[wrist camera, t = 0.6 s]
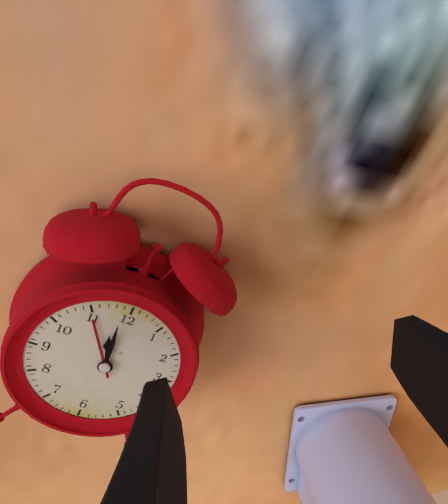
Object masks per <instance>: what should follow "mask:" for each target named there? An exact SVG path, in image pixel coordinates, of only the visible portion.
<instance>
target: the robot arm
mask: <svg viewBox="0 0 448 504" xmlns="http://www.w3.org/2000/svg"><path fill="white" fill-rule="evenodd" d="M391 369H392V370H393V372H394V374H395V376H396V377H397V379H398V381H399V382H400V384H401V386H402V387H403V389H404V390H405V392H406V394H407V395H408V397H409V398H410V399H411V401H412V402H413V403H414V405H415V406H416V407H417V409H418V410H419V411H420V412H421V414H422V415H423V416H424V418H425V419H426V420H427V422H428V423H429V424H430V425H431V427H432V428H433V429H434V430H435V432H436V433H437V434H438V435H439V437H440V438H441V439H442V441H443V442H444V443H445V444H446V446H447V447H448V333H446V332H444V331H442V330H441V329H439V328H437V327H435V326H433V325H431V324H429V323H427V322H425V321H424V320H422V319H420V318H418V317H416V316H414V315H411V316H407V317H403V318H399V319H395V320H394V332H393V343H392V355H391ZM396 403H397V399H396V398H395V396H394V395H383V396H374V397H366V398H358V399H350V400H341V401H333V402H325V403H317V404H308V405H300V406H298V407H296V408H295V409H294V413H293V421H292V428H291V435H290V442H289V449H288V457H287V464H286V471H285V478H284V489H285V491H287V492H292V491H297V492H298V495H299V498H300V501H301V504H437V503H436V502H435V500H434V499H433V497H432V496H431V494H430V493H429V491H428V490H427V488H426V487H425V485H424V483H423V482H422V480H421V479H420V477H419V476H418V474H417V473H416V471H415V470H414V468H413V467H412V465H411V464H410V462H409V460H408V459H407V457H406V456H405V454H404V453H403V451H402V450H401V448H400V447H399V445H398V444H397V442H396V441H395V439H394V437H393V436H392V434H391V433H390V431H389V426H390V423H391V420H392V417H393V413H394V410H395V407H396ZM100 504H187V477H186V454H185V446H184V438H183V430H182V422H181V419H180V416H179V413H178V410H177V407H176V404H175V401H174V398H173V395H172V392H171V389H170V386H169V383H168V379H167V377H165V378H161V379H157V380H153V381H149V382H146V383H145V385H144V386H143V390H142V394H141V398H140V401H139V405H138V408H137V411H136V415H135V418H134V421H133V424H132V427H131V430H130V432H129V435H128V438H127V440H126V443H125V446H124V449H123V451H122V454H121V457H120V459H119V462H118V464H117V466H116V469H115V471H114V473H113V476H112V478H111V481H110V483H109V485H108V488H107V490H106V492H105V494H104V497H103V499H102V501H101V503H100Z"/></svg>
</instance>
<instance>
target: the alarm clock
mask: <svg viewBox="0 0 448 504" xmlns="http://www.w3.org/2000/svg"><path fill="white" fill-rule="evenodd" d="M145 184H156V185H162V186H166V187H170V188H173V189H175V190H178V191H180V192H183V193H185V194H187V195H189V196H191V197H193V198H194V199H196V200H198V201H199V202H201V203H202V204H203V205H205V206H206V207H207V208H208V209H209V210H210V211H211V213H212V214H213V216H214V217H215V219H216V222H217V229H218V234H217V240H216V244H215V247H214V251H213V254H212V255H211V254H210V253H209V252H208V251H206V250H205V249H204V248H202V247H201V246H198V245H196V244H194V243H182V244H180V245H179V246H177V247H175V248H174V249H173V250H172V251H171V253H170V254H169V258H168V257H166V256H165V255H163V254H161V253H159V252H160V250H161V248H162V246H161V245H159V244H156V243H154V242H153V243H152V245H151V248H152V249H150V248H147V247H145V246H141V245H140V242H141V238H140V231H139V228H138V226H137V225H136V223H135V221H133V220H132V219H131V218H129V217H128V216H126V215H124V214H121V213H119V212H116V211H114V210H115V208H116V207H117V205H118V204H119V202H120V201H121V199H122V198H123V197H124V196H125V195H126V193H127V192H129V191H130V190H131V189H133V188H134V187H137V186H140V185H145ZM222 234H223V226H222V221H221V218H220V216H219V213H218V212H217V210H216V209H215V208H214V207H213V206H212V205H211V203H209V202H208V201H207V200H206V199H204V198H203V197H202V196H200V195H198V194H197V193H195V192H193V191H191V190H189V189H188V188H186V187H184V186H181V185H178V184H175V183H172V182H169V181H166V180H161V179H155V178H147V179H139V180H136V181H133V182H131V183H129V184H128V185H127V186H125V187H124V188H123V189H122V190H121V191H120V192H119V194H118V195H117V196H116V198H115V199H114V201H113V202H112V204H111V206H110V207H109V209H108V210H106V209H97V203H95V202H91V203H90V208H86V209H75V210H70V211H66V212H63V213H60V214H58V215H57V216H55V217H53V218H52V219H51V220H50V221H49V222H48V224H47V226H46V227H45V230H44V235H43V247H44V249H45V251H46V253H47V254H49V255H50V256H48V257H46V258H45V259H44V260H42V261H41V262H40V263H38V264H37V265H36V266H35V267H34V268H33V269H32V270H31V271H30V272H29V273H28V274H27V276H26V277H25V278H24V280H23V281H22V283H21V284H20V286H19V287H18V289H17V291H16V293H15V295H14V297H13V300H12V304H11V308H10V315H9V325H10V326H9V327H8V329H7V331H6V333H5V336H4V338H3V342H2V346H1V355H0V358H1V359H0V370H1V376H2V380H3V383H4V385H5V388H6V390H7V392H8V393H9V395H10V397H11V398H12V399H13V401H14V402H15V403H16V404H15V405H14V406H13V407H12V408H10V409H9V410H7V411H6V412H4V413H0V422H2V421H3V420H4V418H5V416H7V415H9V414H11V413H12V412H14V411H16V410H19V409H20V408H21V409H22V411H24V412H25V413H26V414H28V415H29V416H30V417H31V418H33V419H35V420H36V421H38V422H40V423H41V424H44V425H46V426H48V427H50V428H53V429H55V430H58V431H61V432H65V433H69V434H74V435H80V436H90V437H103V436H114V435H121V434H125V438H126V440H127V438H128V435H129V432H130V430H131V427H132V424H133V421H134V418H135V415H136V411H137V408H138V405H139V401H140V398H141V394H142V390H143V386H144V385H145V383H146V382H149V381H153V380H157V379H161V378H165V377H167V379H168V383H169V386H170V389H171V392H172V395H173V398H174V401H175V404H176V407H178V406H179V404H180V403H181V402H182V401H183V400H184V399H185V397H186V396H187V394H188V392H189V391H190V389H191V387H192V385H193V382H194V379H195V376H196V373H197V369H198V364H199V345H200V342H201V339H202V335H203V329H204V314H203V308H202V305H204V306H205V307H206V308H207V309H209V310H210V311H211V312H213V313H215V314H217V315H219V316H224V315H226V314H228V313H229V312H230V311H231V309H232V308H233V307H234V305H235V303H236V300H237V292H236V288H235V285H234V283H233V280H232V278H231V277H230V275H229V274H228V272H227V271H226V269H225V268H224V267H223V266H224V265H225V264H226V263H227V262H228V261H229V259H228V258H227V257H224V258H223V259H222V260H221V261H218V259H217V253H218V251H219V248H220V246H221V240H222ZM157 251H159V252H157ZM125 443H126V442H125ZM125 443H124V445H125Z"/></svg>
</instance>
